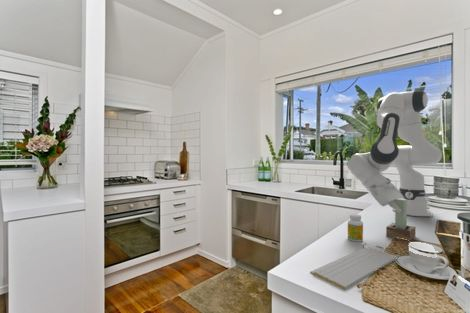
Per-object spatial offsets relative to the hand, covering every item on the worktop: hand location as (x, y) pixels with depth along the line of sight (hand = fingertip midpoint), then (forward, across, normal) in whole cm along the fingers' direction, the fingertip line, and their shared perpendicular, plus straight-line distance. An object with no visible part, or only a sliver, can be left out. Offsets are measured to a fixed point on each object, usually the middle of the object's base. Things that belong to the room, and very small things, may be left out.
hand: (402, 210), depth 98 cm
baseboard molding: (+6, -40, +10) cm, 42 cm away
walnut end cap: (+7, 0, +8) cm, 11 cm away
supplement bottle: (0, -18, +16) cm, 24 cm away
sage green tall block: (+5, 0, +6) cm, 7 cm away
